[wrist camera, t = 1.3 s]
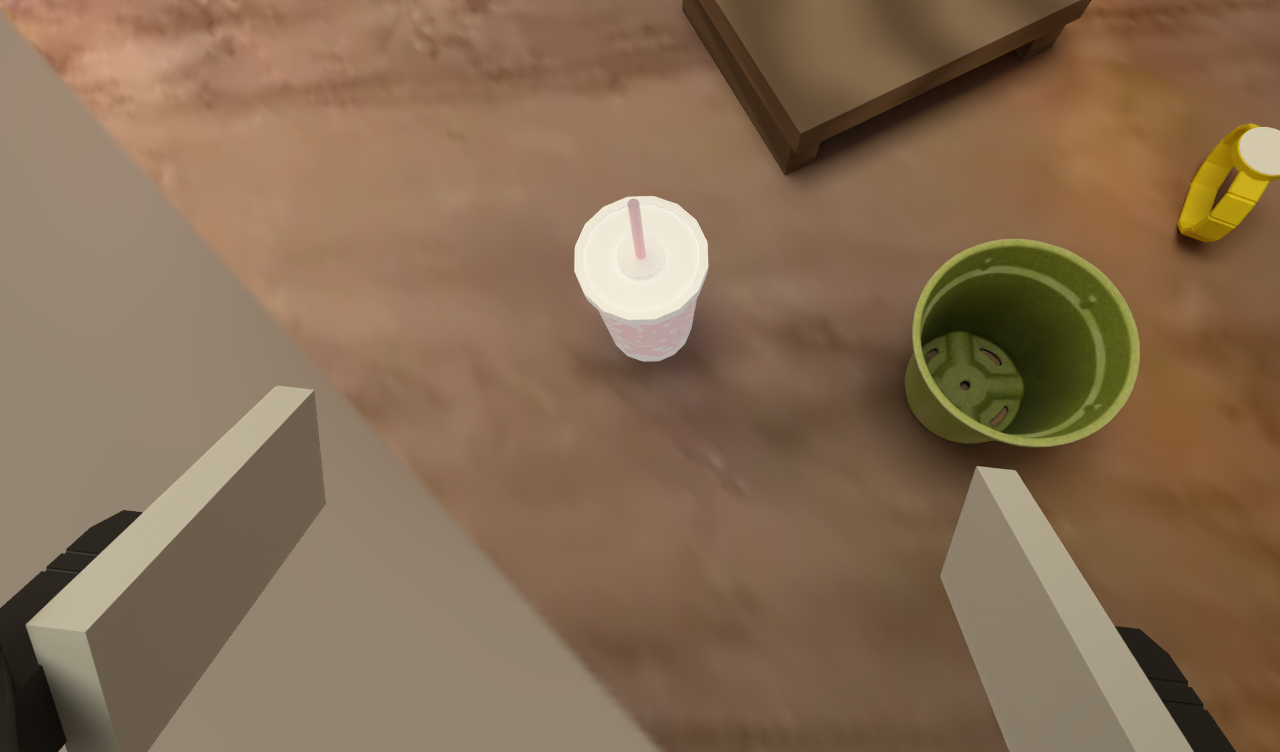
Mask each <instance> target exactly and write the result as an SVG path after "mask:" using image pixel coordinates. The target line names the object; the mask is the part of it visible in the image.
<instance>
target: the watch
mask: <svg viewBox="0 0 1280 752" xmlns="http://www.w3.org/2000/svg"><path fill="white" fill-rule="evenodd" d="M1234 166H1235V168H1236V169H1237V170H1238V171H1239V172H1238V174H1237V176H1236V177H1235V179H1234V181H1233V183H1232V184H1231V186H1230V188H1229V189H1228V191H1227V193H1226V194H1225V195H1224V196H1223V198H1222V199H1221V200H1220V201H1219V203H1218V204H1217V205H1216V206H1215V208H1214V209H1213V210H1212V211H1211V209H1212V206H1213V203H1214V200H1215V197H1216V194H1217V191H1218V190H1219V188H1220V187H1221V185H1222V184H1223V182H1224V181H1225V179H1226V177H1227V176H1228V174H1229V173H1230V171H1231V169H1233V167H1234ZM1278 179H1280V131H1279V130H1276V129H1273V128H1269V127H1260V126H1257V125H1254V124H1246V125H1241V126H1239V127H1237V128H1236V129H1234V130H1233V131H1232V132H1231V133H1229V134H1228V135H1227V136H1226V137H1224V138H1223V140H1221V141H1220V142H1219V144H1218V145H1217V146H1216V147H1215V148H1214V150H1213V151H1212V152H1211V153H1210V154H1209V156H1208V157H1207V158H1206V160H1205V161H1204V162H1203V164H1202V165H1201V167H1200V169H1199V170H1198V172H1197V173H1196V175H1195V177H1194V178H1193V180H1192V181H1191V182H1192V183H1190V184H1189V186H1190V189H1189V192H1188V194H1187V197H1186V200H1185V203H1184V206H1183V209H1182V212H1181V215H1180V218H1179V221H1178V223H1177V225H1178V228H1179V230H1180V232H1181V234H1183V235H1186V236H1189V237H1191V238H1194V239H1197V240H1200V241H1202V242H1205V243H1206V242H1213V241H1217V240H1219V239H1221V238H1223V237H1224V236H1225V235H1227V234H1228V233H1229V232H1231V231H1232V230H1233V229H1234V228H1236V226H1237V225H1239V224H1240V223H1241V221H1242V220H1243V219H1244V218H1245V217H1246V215H1247V214H1248V213H1249V212H1250V211H1251V210H1252V208H1253V207H1254V206H1255V203H1256V202H1258V200H1259V199H1260V197H1261V195H1262V194H1263V192H1264V190H1265V189H1266V187H1267V185H1268V184H1269V182H1273V181H1275V180H1278ZM1210 212H1211V213H1210Z"/></svg>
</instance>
